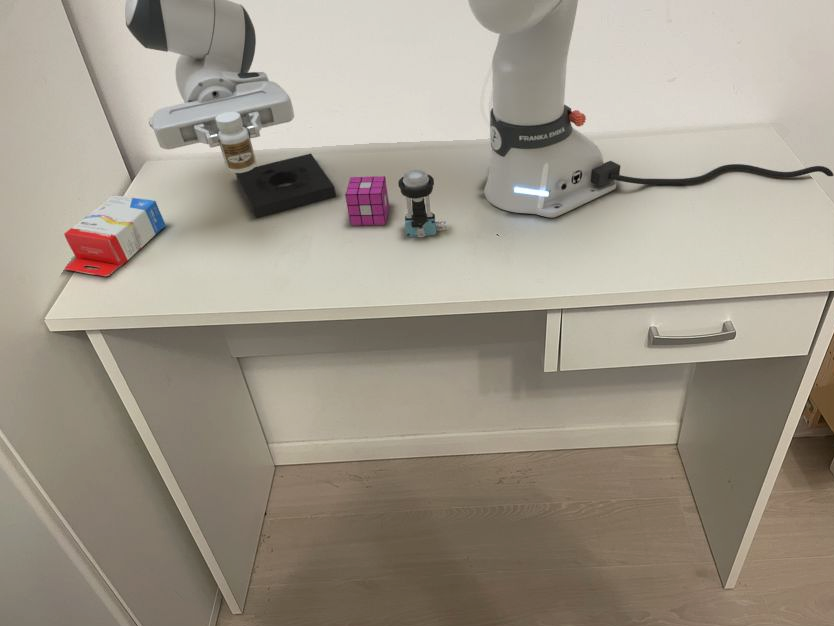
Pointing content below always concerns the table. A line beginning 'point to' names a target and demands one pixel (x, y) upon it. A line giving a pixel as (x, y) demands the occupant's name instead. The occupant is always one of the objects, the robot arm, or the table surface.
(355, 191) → the puzzle toy
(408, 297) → the table surface
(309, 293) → the table surface
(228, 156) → the pill bottle
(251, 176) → the pad
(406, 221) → the push button
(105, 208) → the ink box
